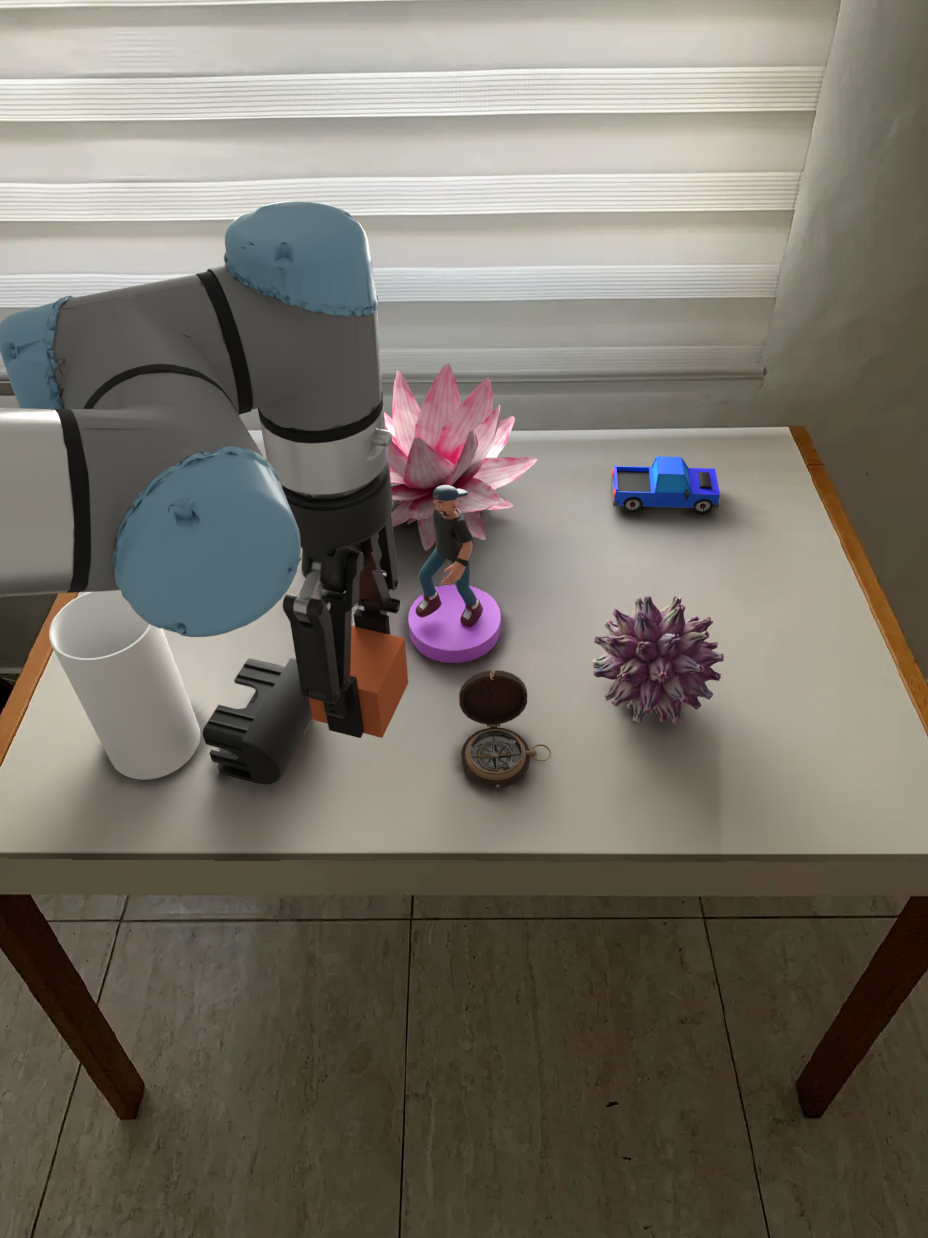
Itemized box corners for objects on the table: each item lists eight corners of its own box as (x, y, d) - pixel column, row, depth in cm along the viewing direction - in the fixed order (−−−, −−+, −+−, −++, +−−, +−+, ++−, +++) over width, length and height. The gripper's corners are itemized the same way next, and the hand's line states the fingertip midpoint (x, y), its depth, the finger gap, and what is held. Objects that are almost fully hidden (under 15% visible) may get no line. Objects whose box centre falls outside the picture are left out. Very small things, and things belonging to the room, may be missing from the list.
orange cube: (382, 738, 72) (377, 693, 68) (312, 720, 73) (303, 675, 69) (408, 683, 76) (405, 637, 72) (342, 666, 77) (335, 621, 73)
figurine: (391, 624, 94) (375, 484, 81) (461, 584, 98) (457, 444, 85) (447, 677, 89) (440, 536, 76) (519, 632, 93) (524, 491, 80)
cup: (213, 713, 86) (171, 591, 75) (179, 785, 80) (128, 666, 69) (132, 702, 87) (78, 581, 76) (93, 773, 82) (28, 653, 70)
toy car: (717, 519, 104) (725, 485, 101) (612, 516, 105) (616, 482, 102) (711, 484, 109) (718, 449, 105) (610, 481, 110) (614, 447, 106)
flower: (689, 767, 83) (564, 725, 83) (702, 667, 90) (588, 629, 91) (741, 697, 74) (600, 651, 74) (750, 592, 81) (623, 551, 82)
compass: (462, 792, 79) (461, 741, 74) (459, 720, 85) (458, 668, 80) (554, 788, 79) (558, 737, 74) (545, 716, 85) (549, 664, 80)
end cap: (286, 797, 79) (273, 751, 75) (214, 777, 81) (196, 731, 76) (331, 710, 86) (322, 663, 81) (264, 694, 88) (250, 646, 83)
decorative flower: (403, 439, 117) (394, 331, 106) (558, 483, 110) (565, 371, 99) (311, 539, 103) (290, 426, 93) (480, 595, 96) (479, 480, 86)
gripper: (323, 575, 51) (361, 806, 67) (434, 397, 63) (443, 629, 80) (203, 549, 52) (268, 781, 69) (334, 381, 65) (363, 611, 81)
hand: (362, 699), depth 74 cm, fingers closed on orange cube, 6 cm apart
